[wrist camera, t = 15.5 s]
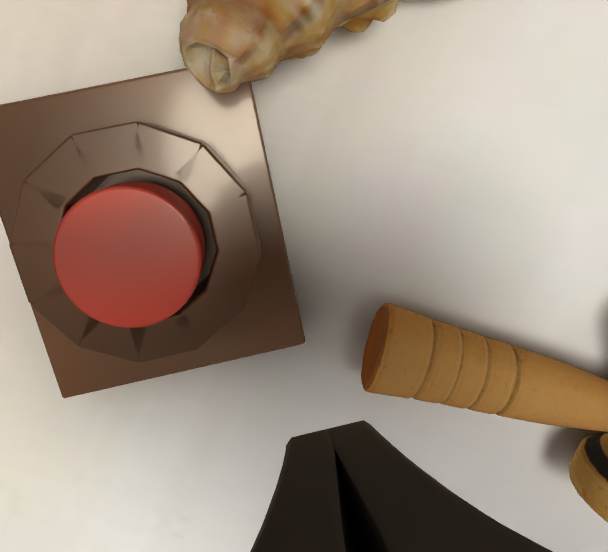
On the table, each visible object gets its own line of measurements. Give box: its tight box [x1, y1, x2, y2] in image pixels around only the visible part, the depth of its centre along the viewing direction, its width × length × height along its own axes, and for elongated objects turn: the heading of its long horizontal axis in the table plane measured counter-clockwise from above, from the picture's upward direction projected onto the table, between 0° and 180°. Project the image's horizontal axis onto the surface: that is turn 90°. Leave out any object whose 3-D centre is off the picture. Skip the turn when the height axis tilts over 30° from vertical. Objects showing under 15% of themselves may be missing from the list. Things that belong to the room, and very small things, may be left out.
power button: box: [53, 181, 206, 328], centre depth 15 cm, size 4×4×2 cm
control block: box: [0, 68, 305, 398], centre depth 17 cm, size 9×8×3 cm
